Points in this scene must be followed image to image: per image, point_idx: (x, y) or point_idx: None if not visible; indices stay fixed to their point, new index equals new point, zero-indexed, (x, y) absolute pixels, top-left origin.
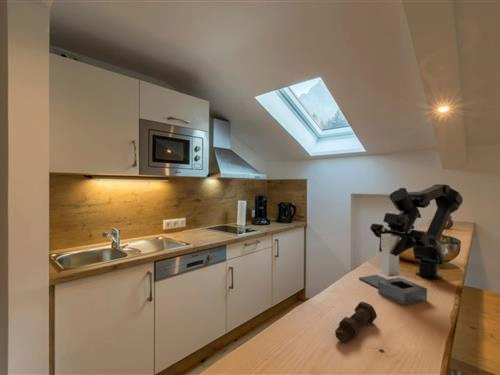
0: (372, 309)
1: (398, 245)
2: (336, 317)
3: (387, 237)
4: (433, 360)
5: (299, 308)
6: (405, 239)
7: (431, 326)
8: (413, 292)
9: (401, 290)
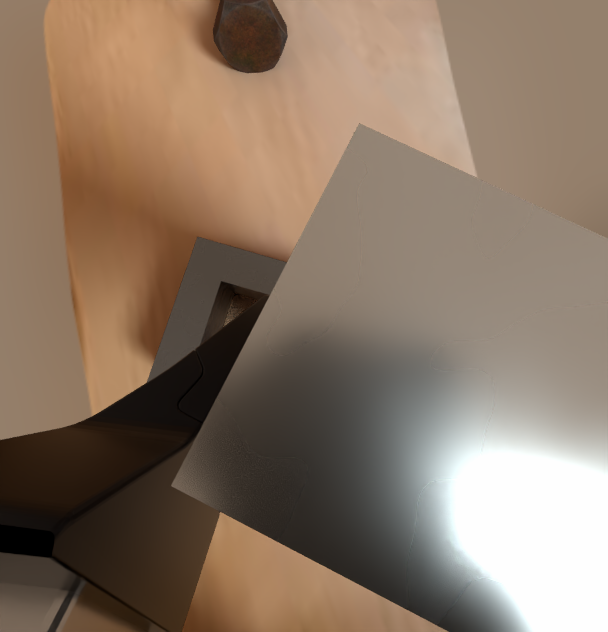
0: (220, 8)
1: (232, 361)
2: (321, 16)
3: (406, 182)
4: (58, 30)
5: None
6: (26, 440)
7: (105, 187)
8: (179, 292)
9: (219, 258)
